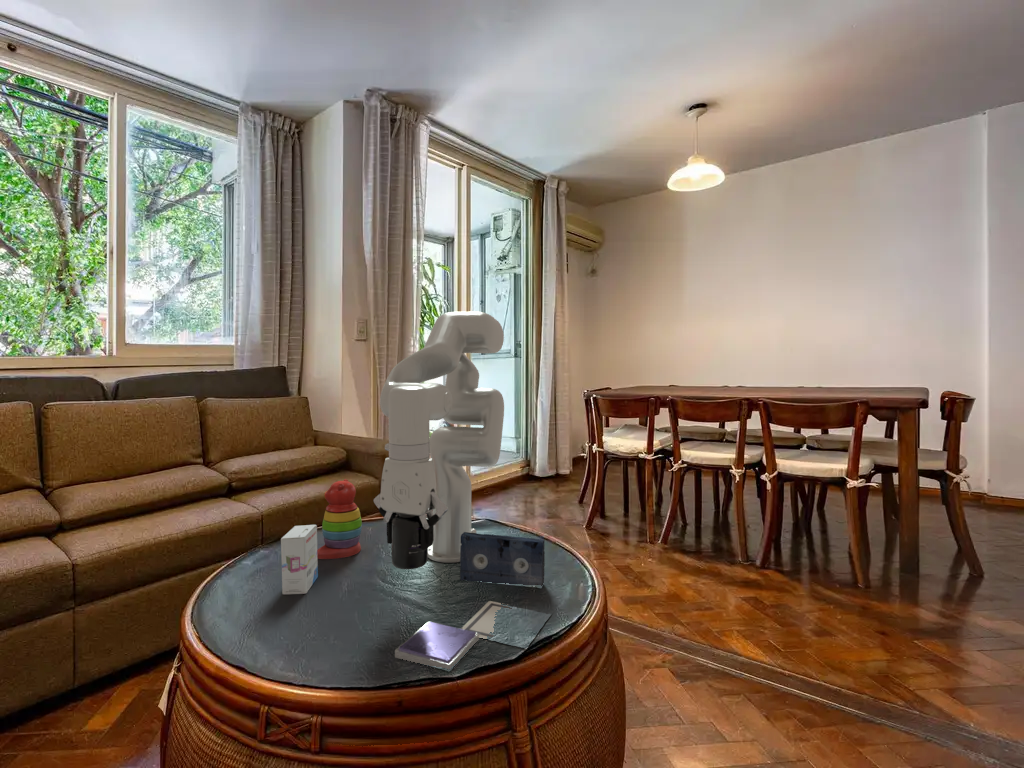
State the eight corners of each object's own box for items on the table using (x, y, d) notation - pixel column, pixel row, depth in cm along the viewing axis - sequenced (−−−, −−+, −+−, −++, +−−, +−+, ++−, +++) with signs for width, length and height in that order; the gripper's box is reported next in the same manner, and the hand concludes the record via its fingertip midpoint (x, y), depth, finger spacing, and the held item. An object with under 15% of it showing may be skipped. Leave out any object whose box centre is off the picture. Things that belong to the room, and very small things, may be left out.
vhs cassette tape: (544, 584, 109) (545, 538, 109) (542, 590, 106) (542, 543, 106) (463, 575, 114) (464, 531, 113) (459, 580, 111) (459, 535, 110)
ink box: (295, 577, 111) (294, 524, 111) (318, 577, 111) (318, 523, 111) (280, 595, 103) (280, 537, 102) (306, 594, 103) (306, 536, 103)
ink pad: (428, 628, 90) (428, 619, 90) (479, 640, 86) (479, 631, 86) (394, 657, 81) (394, 648, 81) (449, 672, 77) (449, 662, 77)
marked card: (489, 601, 100) (489, 600, 100) (551, 614, 95) (551, 613, 95) (457, 633, 89) (457, 631, 88) (526, 650, 83) (526, 648, 83)
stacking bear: (329, 543, 132) (329, 475, 132) (367, 544, 132) (367, 476, 131) (311, 559, 122) (311, 485, 121) (353, 560, 121) (353, 486, 121)
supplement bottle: (420, 572, 93) (419, 507, 92) (385, 568, 94) (384, 505, 94) (433, 557, 100) (433, 497, 99) (400, 554, 101) (400, 495, 100)
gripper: (359, 451, 96) (360, 544, 97) (438, 459, 89) (439, 559, 90) (383, 444, 103) (384, 531, 104) (459, 451, 96) (459, 544, 97)
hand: (409, 543), depth 97 cm, fingers closed on supplement bottle, 6 cm apart
